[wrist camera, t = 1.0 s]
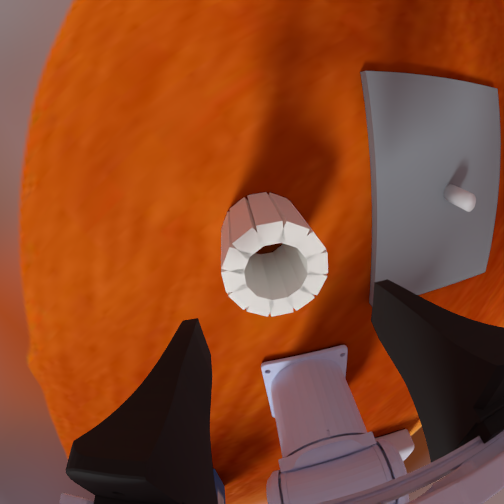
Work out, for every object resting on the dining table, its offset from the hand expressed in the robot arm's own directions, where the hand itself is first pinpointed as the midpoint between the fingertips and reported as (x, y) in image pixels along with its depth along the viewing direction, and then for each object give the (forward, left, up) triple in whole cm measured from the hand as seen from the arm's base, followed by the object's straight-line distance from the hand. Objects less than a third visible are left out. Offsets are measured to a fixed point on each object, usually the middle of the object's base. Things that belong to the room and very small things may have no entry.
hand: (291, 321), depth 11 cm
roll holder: (+1, -15, -9) cm, 18 cm away
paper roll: (0, 0, -9) cm, 9 cm away
